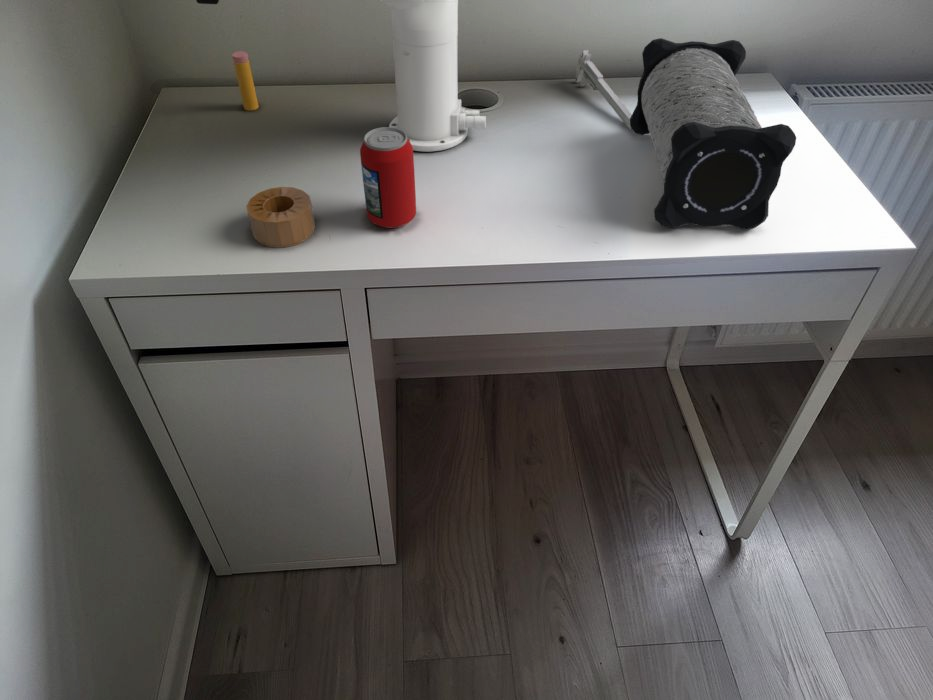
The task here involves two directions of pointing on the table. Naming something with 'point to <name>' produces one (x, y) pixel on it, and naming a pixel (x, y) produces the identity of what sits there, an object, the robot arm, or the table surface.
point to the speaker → (707, 136)
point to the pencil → (245, 80)
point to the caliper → (600, 86)
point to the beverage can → (388, 177)
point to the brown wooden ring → (281, 217)
